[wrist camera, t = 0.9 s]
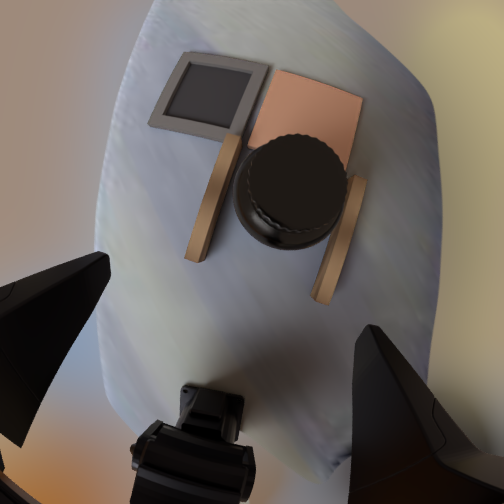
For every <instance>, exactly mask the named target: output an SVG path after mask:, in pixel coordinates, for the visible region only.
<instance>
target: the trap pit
mask: <svg viewBox="0 0 504 504" xmlns="http://www.w3.org/2000/svg"><path fill="white" fill-rule="evenodd" d="M268 70H269V66H268V65H264V64H259V63H255V62H250V61H245V60H240V59H234V58H228V57H222V56H216V55H209V54H201V53H191V52H183V54H182V56H181V58H180V59H179V61H178V63H177V65H176V66H175V68H174V70H173V72H172V74H171V76H170V78H169V79H168V81H167V83H166V85H165V87H164V89H163V91H162V93H161V95H160V97H159V99H158V101H157V104H156V106H155V108H154V110H153V112H152V114H151V117H150V119H149V121H148V123H147V124H148V125H149V126H150V127H154V128H160V129H165V130H170V131H175V132H179V133H184V134H189V135H193V136H197V137H202V138H206V139H210V140H214V141H218V142H222V143H223V142H224V139H225V137H226V134H227V133H230V134H233V135H237V136H241V138H242V136H243V133H244V130H245V128H246V125H247V123H248V120H249V117H250V115H251V112H252V110H253V107H254V104H255V102H256V99H257V97H258V94H259V92H260V89H261V87H262V84H263V82H264V80H265V77H266V75H267V72H268Z"/></svg>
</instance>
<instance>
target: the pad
mask: <svg viewBox="0 0 504 504" xmlns="http://www.w3.org/2000/svg"><path fill="white" fill-rule="evenodd" d="M362 100H363V99H362V98H360V97H358V96H355V95H353V94H350V93H348V92H345V91H343V90H340V89H337V88H334V87H332V86H329V85H326V84H323V83H320V82H317V81H314V80H311V79H308V78H305V77H301V76H298V75H295V74H291V73H288V72H284V71H280V70H276V71H275V74H274V76H273V79H272V81H271V84H270V86H269V89H268V92H267V94H266V97H265V99H264V102H263V105H262V107H261V110H260V112H259V115H258V118H257V120H256V123H255V126H254V128H253V131H252V134H251V137H250V139H249V142H248V145H247V146H248V148H250V149H253V150H255V149H257V148H258V147H260V146H262V145H263V144H266V143H268V142H269V141H270V140H272V139H276V138H277V137H278V136H285V135H287V134H292V135H294V134H297V133H299V134H301V135H306V134H307V135H309V136H311V137H316V138H318V139H319V140H320V141H323V142H325V143H326V144H327V146H329V147H331V148H332V149H333V150H334V152H335V153H336V154H337V155H338V156H339V158H340V161H341V162H342V163H343V164H344V170H345V171H346V168H347V164H348V160H349V156H350V152H351V148H352V144H353V140H354V136H355V131H356V127H357V123H358V118H359V114H360V109H361V104H362Z"/></svg>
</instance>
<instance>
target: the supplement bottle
mask: <svg viewBox="0 0 504 504" xmlns="http://www.w3.org/2000/svg"><path fill="white" fill-rule="evenodd" d="M346 176H347V173H346V171H345V170H344V164H343V163H342V162H341V161H340V158H339V156H338V155H337V154H336V153H335V152H334V150H333V149H332V148H331V147H329V146H327V144H326V143H325V142H323V141H320V140H319V139H318V138H316V137H311V136H309V135H307V134H306V135H301V134H299V133H297V134H294V135H292V134H287V135H285V136H278V137H277V138H276V139H272V140H270V141H269V142H268V143H266V144H263V145H262V146H260V147H258V148H257V149H255V150H254V151H252V152H251V153H250V154H249V155H248V156H247V157H246V158H245V160H244V161H243V162H242V164H241V165H240V167H239V169H238V171H237V173H236V176H235V179H234V184H233V203H234V207H235V211H236V214H237V216H238V218H239V220H240V222H241V224H242V225H243V227H244V228H245V229H246V230H247V232H248V233H249V234H250V235H251V236H253V237H254V238H255V239H256V240H258V241H259V242H261V243H263V244H265V245H267V246H269V247H272V248H275V249H280V250H300V249H305V248H308V247H311V246H313V245H315V244H317V243H319V242H321V241H322V240H324V239H325V238H326V237H327V236H328V235H329V234H330V233H331V232H332V231H333V230H334V228H335V227H336V226H337V224H338V222H339V220H340V218H341V216H342V213H343V209H344V204H345V196H346V194H347V185H348V181H347V179H346Z"/></svg>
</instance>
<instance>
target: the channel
mask: <svg viewBox="0 0 504 504" xmlns="http://www.w3.org/2000/svg"><path fill="white" fill-rule="evenodd" d="M241 149H242V141H241V136H237V135H233V134H230V133H227V134H226V137H225V139H224V142H223V144H222V147H221V150H220V152H219V155H218V158H217V161H216V163H215V166H214V169H213V172H212V174H211V177H210V180H209V183H208V186H207V189H206V192H205V195H204V197H203V200H202V203H201V206H200V209H199V212H198V216H197V219H196V222H195V225H194V228H193V231H192V234H191V238H190V241H189V244H188V247H187V251H186V254H185V257H184V258H185V259H187V260H190V261H193V262H196V263H199V262H202V261H204V260H205V256H206V253H207V250H208V247H209V244H210V240H211V237H212V234H213V231H214V228H215V225H216V222H217V219H218V216H219V213H220V210H221V207H222V204H223V201H224V198H225V195H226V192H227V189H228V186H229V183H230V180H231V177H232V174H233V171H234V169H235V166H236V163H237V160H238V157H239V155H240V152H241ZM347 181H348V185H347V194H346V196H345V204H344V209H343V213H342V216H341V218H340V220H339V222H338V224H337V226H336V227H335V228H334V230H333V231H332V232H331V235H330V238H329V241H328V245H327V248H326V251H325V254H324V257H323V260H322V263H321V266H320V269H319V272H318V275H317V278H316V281H315V284H314V286H313V289H312V292H311V295H310V296H311V297H312V298H313V299H314V300H315V301H316V302H319V303H322V304H325V305H329V303H330V301H331V298H332V295H333V292H334V290H335V287H336V284H337V281H338V278H339V275H340V272H341V269H342V266H343V263H344V260H345V257H346V254H347V251H348V248H349V244H350V241H351V238H352V235H353V231H354V228H355V224H356V221H357V217H358V214H359V210H360V207H361V203H362V199H363V195H364V191H365V188H366V184H367V179H364V178H362V177H359V176H357V175H354V176H352V177H351V178H349V179H348V180H347Z"/></svg>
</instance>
